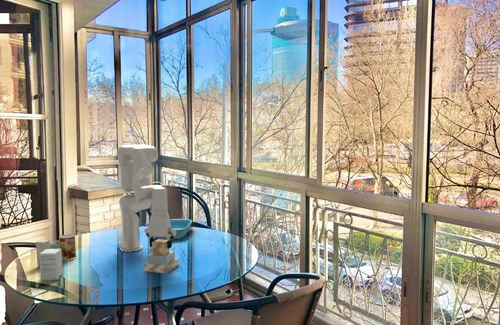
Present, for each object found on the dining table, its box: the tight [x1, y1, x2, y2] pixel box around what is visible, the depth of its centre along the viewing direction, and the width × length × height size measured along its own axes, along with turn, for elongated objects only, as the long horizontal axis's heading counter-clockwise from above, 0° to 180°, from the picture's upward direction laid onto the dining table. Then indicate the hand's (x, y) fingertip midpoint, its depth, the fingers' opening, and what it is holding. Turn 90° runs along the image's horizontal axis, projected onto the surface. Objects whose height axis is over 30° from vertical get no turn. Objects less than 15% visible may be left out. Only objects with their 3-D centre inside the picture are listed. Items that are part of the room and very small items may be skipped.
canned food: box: [58, 233, 77, 260], centre depth 213 cm, size 8×8×12 cm
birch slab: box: [144, 257, 180, 274], centre depth 196 cm, size 12×12×4 cm
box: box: [35, 239, 51, 267], centre depth 201 cm, size 5×4×13 cm
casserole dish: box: [154, 218, 193, 240], centre depth 262 cm, size 37×22×7 cm, turn 179°
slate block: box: [146, 250, 176, 265], centre depth 195 cm, size 10×10×4 cm
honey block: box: [151, 239, 171, 256], centre depth 195 cm, size 6×6×6 cm
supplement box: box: [39, 248, 64, 282], centre depth 184 cm, size 7×7×13 cm
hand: (160, 247), depth 195 cm, fingers open, 9 cm apart
